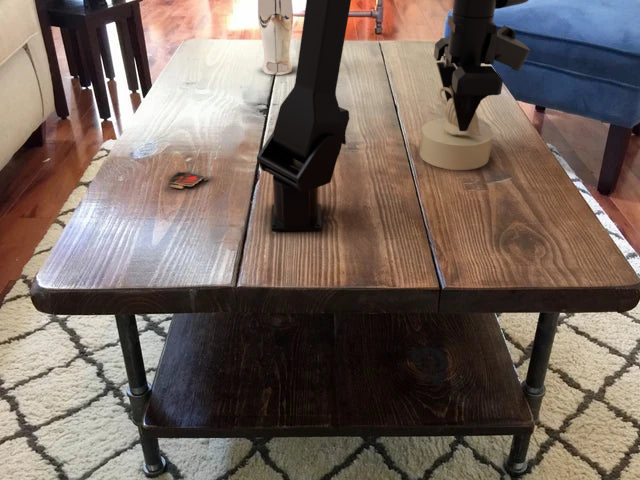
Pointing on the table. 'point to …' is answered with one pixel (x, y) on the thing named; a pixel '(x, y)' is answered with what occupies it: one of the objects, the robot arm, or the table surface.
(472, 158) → the ceramic puck
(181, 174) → the matchbox
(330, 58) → the robot arm
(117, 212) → the table surface
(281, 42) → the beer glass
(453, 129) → the decorative ornament
